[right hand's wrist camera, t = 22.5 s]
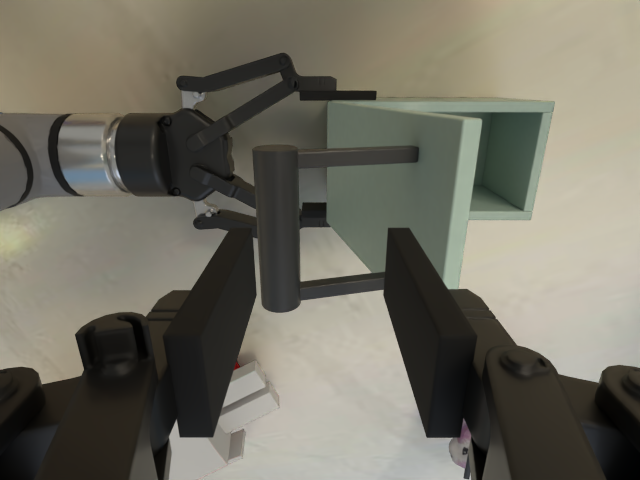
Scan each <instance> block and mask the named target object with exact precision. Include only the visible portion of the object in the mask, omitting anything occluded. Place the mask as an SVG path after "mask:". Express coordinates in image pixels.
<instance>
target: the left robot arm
mask: <svg viewBox="0 0 640 480" xmlns="http://www.w3.org/2000/svg"><path fill="white" fill-rule="evenodd" d="M278 72H280V73H281V76H282V78H283V81H281V82H280V83H278V84H276V85H275V86H273V87H272V88H270V89H268V90H267V91H265V92H264V93H262V94H260V95H259V96H257V97H255V98H254V99H252V100H251V101H249V102H247V103H246V104H244V105H243V106H241V107H239V108H238V109H236V110H234V111H233V112H231V113H230V114H228V115H226V116H224V117H223V118H221V119H219V120H218V121H216V122H214V121H213V120H211V119H210V118H209V117H207V116H206V115H204V114H203V113H202V112H200V111H199V110H197V109H196V106H197V104H198V103H199V102H201V101H205V100H206V99H207V97H208V92H214V91H219V90H223V89H226V88H229V87H232V86H236V85H239V84H242V83H245V82H249V81H252V80H255V79H258V78H262V77H265V76H268V75H271V74H275V73H278ZM336 80H337V79H335V78H333V77H331V76H324V77H323V76H299V75H298V74H297V73H296V71H295V68H294V65H293V63H292V60H291V58H290V57H289V56H288V55H287V54H286V53H280V54H277V55H273V56H270V57H267V58H264V59H261V60H257V61H254V62H251V63H248V64H245V65H241V66H238V67H235V68H232V69H228V70H225V71H222V72H219V73H216V74H212V75H209V76H206V77H192V76H180V77H178V79H177V81H176V84H177V87H178V88H179V89H180V90H181V96H182V109H180V110H178V111H177V112H175V113H130V114H127V115H126V116H124V115H122V114H120V113H75V114H25V113H2V112H0V211H2V210H4V209H7V208H11V207H14V206H17V205H19V204H22V203H24V202H27V201H29V200H32V199H35V198H39V197H55V196H111V197H127V196H130V195H132V194H134V195H135V196H181V197H185V198H187V199H189V200H191V201H193V204H194V209H195V214H196V218H195V219H194V221H193V225H194V227H195V228H197V229H214V228H219V229H223V230H227V231H229V230H230V228H252V234H253V237H254V238H258V232H257V218H256V217H253V216H249V215H245V214H241V213H237V212H233V211H229V210H223V209H218V207H217V206H216V205H215V204H210V203H209V202H207V200H206V197H208V196H209V195H210V194H212V193H213V192H214V191H215V190H216V191H218V192H220V193H222V194H224V195H226V196H228V197H232V198H235V199H237V200H239V201H241V202H243V203H245V204H247V205H249V206H251V207H253V208H255V209H256V199H255V187H254V186H252V185H251V184H249V183H247V182H245V181H244V180H243V179H242V178H240V177H239V176H237V175H235V174H233V171H234V161H233V158H232V155H231V151H232V146H233V145H232V137H230V135H229V133H228V132H229V131H231V130H233V129H234V128H236V127H238V126H239V125H241V124H242V123H244V122H246V121H247V120H249V119H251V118H252V117H254V116H256V115H257V114H259V113H260V112H262V111H264V110H265V109H267V108H269V107H270V106H272V105H274V104H275V103H277V102H279V101H280V100H282V99H283V98H285V97H287V96H288V95H290V94H292V93H293V92H300V100H376V92H377V91H336ZM303 227H331V226H330V225H329V224H328V223H327V203H303V205H302V210H301V209H300V208H299V230H300V229H301V228H303Z"/></svg>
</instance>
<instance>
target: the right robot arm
mask: <svg viewBox="0 0 640 480" xmlns="http://www.w3.org/2000/svg"><path fill="white" fill-rule="evenodd" d="M255 299H256V280H255V264H254V249H253V234H252V228H230V230H229V231H228V233H227V234H226V236H225V238H224V239H223V241H222V242H221V244H220V246H219V247H218V249H217V250H216V252H215V253H214V255H213V257H212V258H211V260H210V261H209V263H208V265H207V266H206V268H205V269H204V271H203V272H202V274H201V276H200V277H199V279H198V280H197V282H196V284H195V285H194V287H193V288H192V290H173V291H171V292H170V293H168V294H167V295H165V296H164V297H162V298H161V299H159V300H158V302H157V303H156V304H155V306H154V307H153V308H152V310H151V312H149V314H148V315H147V316H146V317H144V316H143V315H142V314H138V313H133V312H120V313H115V314H110V315H105V316H103V317H100V318H98V319H95V320H92V321H91V322H89V323H88V324H86V325H84V326H83V327H81V329H80V330H79V331H78V332H77V333H76V334H75V337H76V340H77V344H78V348H79V352H80V356H81V359H82V363H83V367H84V371H83V373H82V376H79V377H75V378H71V379H67V380H62V381H57V382H52V383H47V384H42V383H41V380H40V377H39V374H38V373H37V372H36V371H35V370H34V369H32V368H26V367H16V368H7V369H3V370H0V480H169V473H170V464H171V456H172V451H171V444H170V439H169V436H170V433H171V431H172V429H173V426H174V424H175V422H176V419H177V424H178V430H179V436H180V438H213V437H214V433H215V430H216V427H217V423H218V420H219V417H220V414H221V410H222V407H223V404H224V400H225V397H226V394H227V391H228V387H229V384H230V381H231V377H232V374H233V371H234V368H235V364H236V361H237V358H238V354H239V351H240V348H241V345H242V341H243V338H244V335H245V331H246V328H247V325H248V322H249V318H250V315H251V312H252V308H253V305H254V302H255ZM384 299H385V302H386V305H387V308H388V312H389V315H390V318H391V322H392V325H393V328H394V331H395V335H396V338H397V341H398V345H399V348H400V351H401V354H402V358H403V361H404V364H405V368H406V371H407V374H408V377H409V381H410V384H411V387H412V391H413V394H414V397H415V400H416V404H417V407H418V410H419V414H420V417H421V420H422V423H423V427H424V430H425V433H426V437H427V438H460V436H461V430H462V424H463V419H464V420H465V422H466V424H467V427H468V429H469V431H470V434H471V439H470V444H469V450H468V455H467V461H466V466H465V472H464V478H465V479H469V477H470V472H471V480H640V368H637V367H632V366H623V365H616V366H609V367H607V368H606V369H605V370H603V371H602V374H601V377H600V380H599V383H597V382H592V381H587V380H582V379H577V378H572V377H567V376H564V375H560V374H558V373H557V370H556V369H555V367H554V366H553V365H552V363H551V362H550V361H549V360H548V359H546V358H545V357H544V356H542V355H541V354H539V353H537V352H535V351H533V350H530V349H528V348H525V347H521V346H517V345H516V343H515V342H514V341H513V339H512V338H511V337H510V335H509V334H508V333H507V332H506V330H505V329H504V328H503V326H502V325H501V324H500V322H499V321H498V320H497V319H496V317H495V316H494V314H493V313H492V312H491V311H489V308H488V307H487V305H486V304H485V303H484V301H483V300H482V299H481V298H480V297H479V296H477V295H475V294H474V293H472V292H471V291H469V290H468V289H448V288H447V287H446V285H445V284H444V282H443V280H442V279H441V277H440V276H439V274H438V272H437V271H436V269H435V268H434V266H433V265H432V263H431V261H430V260H429V258H428V257H427V255H426V253H425V252H424V250H423V249H422V247H421V246H420V244H419V242H418V241H417V239H416V238H415V236H414V234H413V233H412V231H411V230H410V228H388V234H387V249H386V264H385V280H384Z"/></svg>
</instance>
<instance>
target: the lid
mask: <svg viewBox="0 0 640 480" xmlns="http://www.w3.org/2000/svg"><path fill="white" fill-rule="evenodd" d="M481 127H482V119H480V118H472V117H463V116H455V115H446V114H438V113H429V112H421V111H413V110H404V109H396V108H387V107H379V106H370V105H362V104H354V103H345V102H328V103H327V149H302V150H298V148H297V147H295V146H290V145H264V146H257V147H254V148H253V165H254V182H255V199H256V216H257V232H258V249H259V266H260V283H261V299H262V306H263V307H264V308H265V309H266V310H268V311H271V312H276V313H283V312H289V311H292V310H294V309H296V308H297V307H298V306H299V305H300V303H301V300H308V299H316V298H323V297H331V296H338V295H346V294H353V293H361V292H369V291H376V290H384V280H385V264H386V249H387V234H388V228H410V230H411V231H412V233H413V234H414V236H415V238H416V239H417V241H418V242H419V244H420V246H421V247H422V249H423V250H424V252H425V253H426V255H427V257H428V258H429V260H430V261H431V263H432V265H433V266H434V268H435V269H436V271H437V272H438V274H439V276H440V277H441V279H442V280H443V282H444V284H445V285H446V287H447V288H448V289H458V287H459V280H460V273H461V266H462V259H463V252H464V245H465V238H466V231H467V224H468V218H469V211H470V204H471V197H472V190H473V183H474V176H475V169H476V162H477V155H478V148H479V141H480V134H481ZM319 167H327V223H328V224H329V225H330V226H331V227H332V228H333V229H334V231H335V232H336V233H337V234H338V235H339V236H340V237H341V238H342V240H343V241H344V242H345V243H346V244H347V245H348V246H349V247H350V249H351V250H352V251H353V252H354V253H355V254H356V255H357V256H358V258H359V259H360V260H361V261H362V262H363V263H364V264H365V265H366V267H367V268H368V269H369V270H370V271H371V272H372V273H370V274H361V275H353V276H345V277H336V278H328V279H320V280H312V281H303V282H300V233H299V180H298V169H299V168H319Z"/></svg>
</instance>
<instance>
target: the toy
mask: <svg viewBox="0 0 640 480" xmlns="http://www.w3.org/2000/svg"><path fill="white" fill-rule="evenodd" d="M278 408H280V407H279V396H278V394H277V392H276V391H275V389H274V388H273V386H272V385H271V383H270V381H269V382H267V383H266V375H265V374H264V372H263V371H262V369H261V367H260V366H259V364H258V363H257V361H256V360H254V361H252V362H250V363H248V364H246V365H244V366H242V367H240V366H239V364H238V363H237V362H236V364H235V368H234V371H233V374H232V377H231V381H230V384H229V387H228V391H227V394H226V397H225V400H224V404H223V407H222V410H221V414H220V417H219V420H218V423H217V427H216V430H215V433H214V437H213V438H180V436H179V430H178V424H177V419H176V422H175V424H174V426H173V429H172V431H171V433H170V436H169V439H170V444H171V451H172V456H171V464H170V473H169V480H198V479H200V478H202V477H204V476H206V475H208V474H210V473H213V472H215V471H217V470H219V469H221V468H223V467H225V466H227V465H228V464H230V463H232V462H235V461H237V460H240V459H243V451H244V442H245V433H246V432H245V430H244V429H243V430H240V431H238V432H235V433H232V434H231V431H233V430H235V429H237V428H239V427H241V426H243V425H245V424H247V423H250V422H252V421H254V420H256V419H258V418H260V417H262V416H264V415H266V414H268V413H270V412H272V411H274V410H276V409H278Z"/></svg>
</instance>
